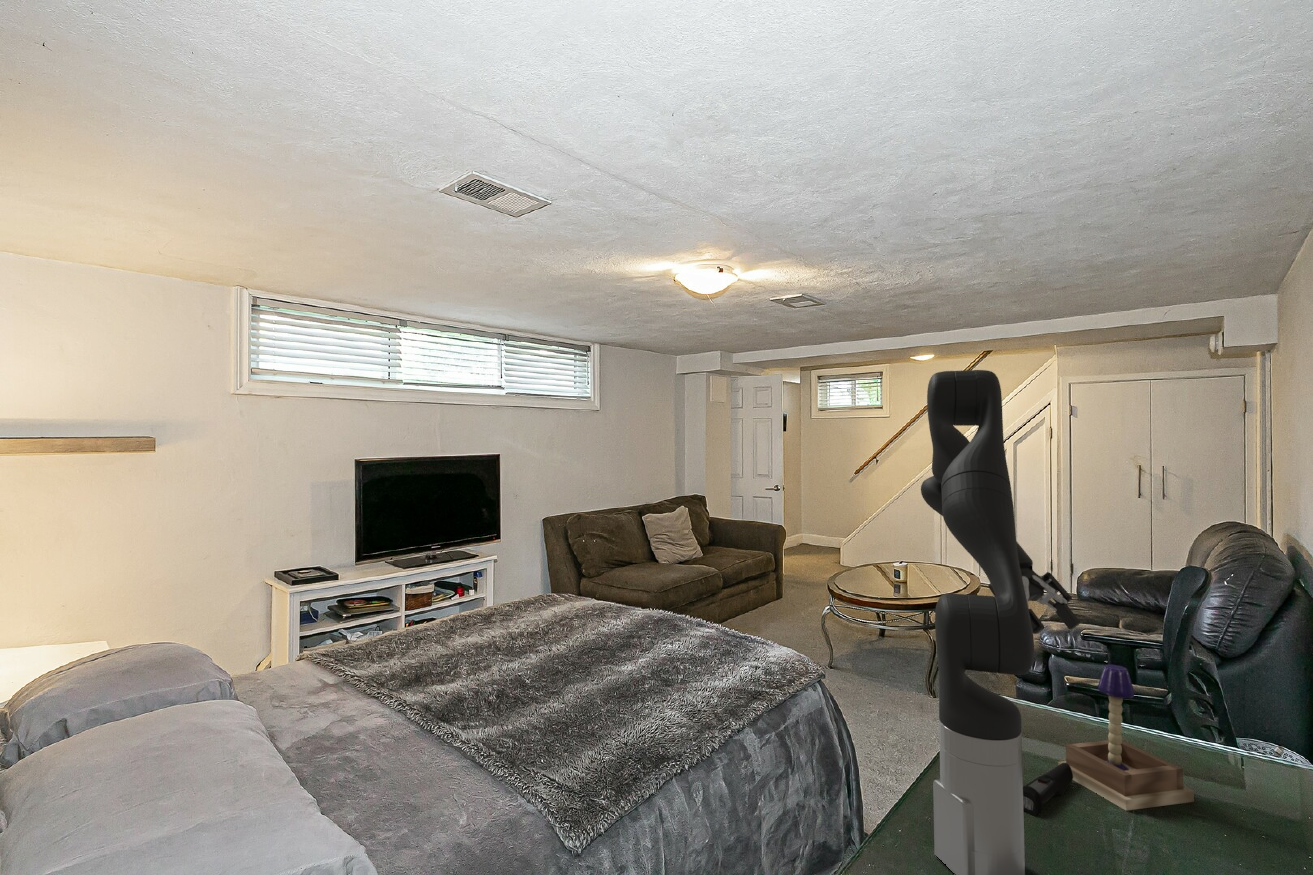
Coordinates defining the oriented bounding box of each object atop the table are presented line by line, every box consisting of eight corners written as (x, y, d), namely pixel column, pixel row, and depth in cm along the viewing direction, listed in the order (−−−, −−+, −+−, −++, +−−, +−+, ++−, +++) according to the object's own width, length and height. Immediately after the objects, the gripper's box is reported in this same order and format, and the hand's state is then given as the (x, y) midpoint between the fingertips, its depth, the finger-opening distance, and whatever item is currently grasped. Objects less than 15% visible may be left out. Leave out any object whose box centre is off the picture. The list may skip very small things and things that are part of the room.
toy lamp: (1124, 769, 101) (1121, 662, 102) (1144, 784, 97) (1140, 671, 97) (1092, 767, 102) (1089, 661, 102) (1110, 782, 97) (1107, 670, 98)
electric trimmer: (1081, 787, 100) (1080, 766, 100) (1038, 819, 90) (1037, 796, 90) (1054, 777, 103) (1053, 757, 103) (1010, 808, 93) (1009, 785, 93)
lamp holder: (1125, 810, 92) (1125, 778, 92) (1058, 771, 104) (1057, 742, 104) (1193, 801, 94) (1192, 770, 95) (1120, 764, 106) (1119, 736, 106)
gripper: (981, 541, 115) (1042, 620, 104) (1038, 538, 121) (1101, 613, 110) (958, 566, 120) (1014, 645, 109) (1014, 562, 125) (1072, 636, 114)
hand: (1057, 628), depth 109 cm, fingers open, 8 cm apart
